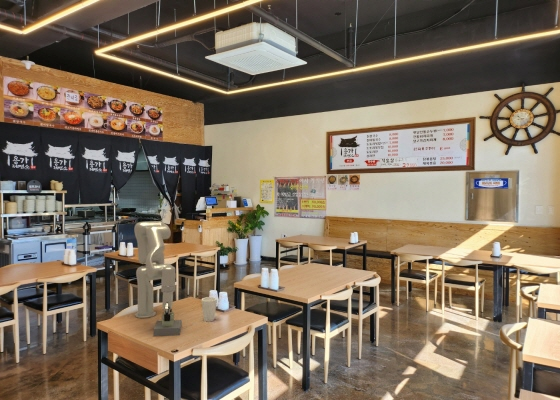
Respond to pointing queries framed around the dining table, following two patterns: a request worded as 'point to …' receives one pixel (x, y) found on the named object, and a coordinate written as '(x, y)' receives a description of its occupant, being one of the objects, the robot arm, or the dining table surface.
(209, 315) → the foam cup
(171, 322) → the cube
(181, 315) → the dining table surface
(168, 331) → the block
